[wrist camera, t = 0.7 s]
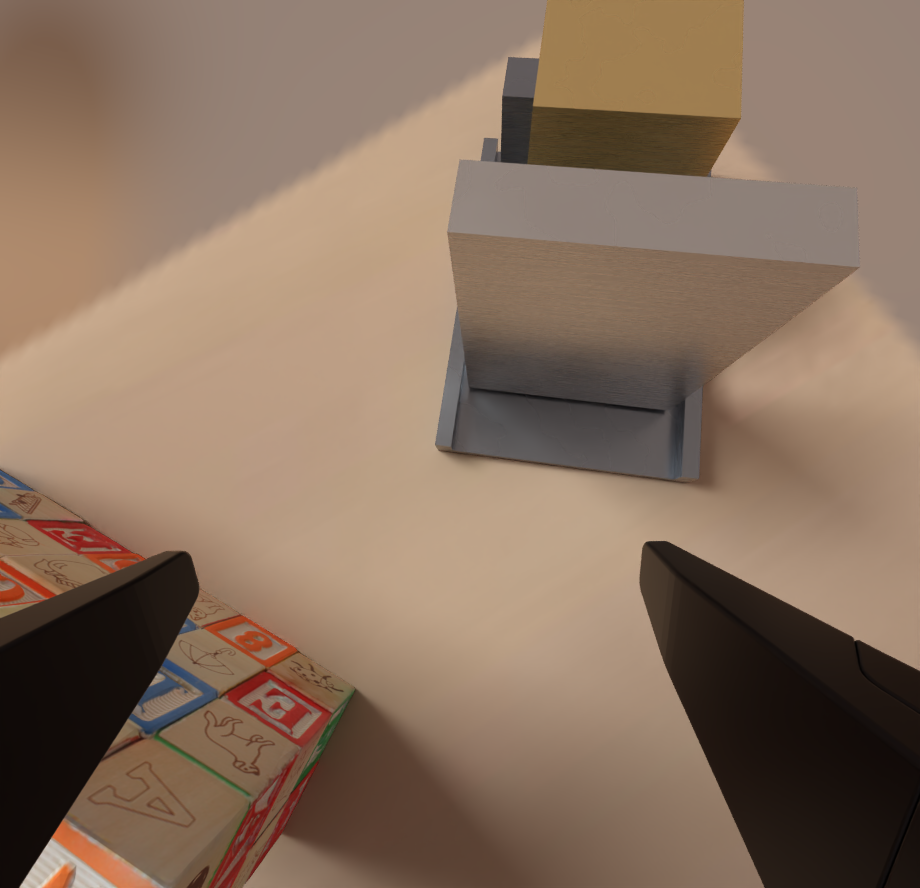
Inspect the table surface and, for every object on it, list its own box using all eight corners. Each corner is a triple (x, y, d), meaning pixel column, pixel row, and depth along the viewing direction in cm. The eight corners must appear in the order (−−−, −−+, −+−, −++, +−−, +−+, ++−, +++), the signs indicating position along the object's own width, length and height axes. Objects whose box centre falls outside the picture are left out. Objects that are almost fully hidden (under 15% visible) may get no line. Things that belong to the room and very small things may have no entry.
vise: (687, 482, 20) (755, 460, 15) (438, 450, 21) (420, 418, 16) (700, 172, 24) (761, 65, 18) (484, 157, 25) (483, 52, 19)
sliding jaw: (669, 410, 20) (860, 267, 10) (468, 387, 21) (447, 231, 11) (672, 368, 21) (857, 187, 10) (474, 347, 22) (459, 159, 11)
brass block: (641, 288, 22) (740, 118, 13) (516, 276, 23) (533, 106, 14) (647, 207, 23) (743, -2, 14) (527, 197, 24) (548, -9, 15)
